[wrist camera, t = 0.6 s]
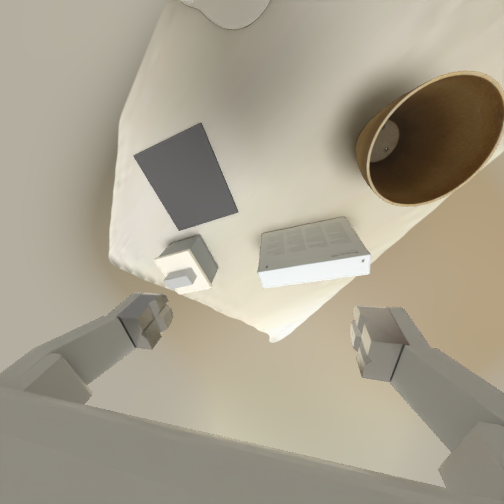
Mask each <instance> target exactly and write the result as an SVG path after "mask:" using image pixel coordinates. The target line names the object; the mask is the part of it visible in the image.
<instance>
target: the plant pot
mask: <svg viewBox="0 0 504 504" xmlns="http://www.w3.org/2000/svg"><path fill="white" fill-rule="evenodd" d="M503 134H504V90H503V89H502V87H501V86H500V84H499V83H498V82H497V81H496V80H495V79H494V78H492V77H490V76H488V75H487V74H484V73H481V72H476V71H458V72H453V73H448V74H445V75H442V76H439V77H437V78H434V79H432V80H430V81H428V82H426V83H424V84H422V85H420V86H419V87H417V88H415V89H413V90H412V91H410V92H408V93H406V94H405V95H403V96H401V97H400V98H398V99H397V100H395V101H394V102H392V103H391V104H389V105H388V106H387V107H385V108H384V109H383V110H381V111H380V112H379V113H378V114H377V115H376V116H374V117H373V118H372V119H371V120H370V121H369V123H368V124H367V125H366V126H365V127H364V129H363V130H362V132H361V133H360V135H359V137H358V140H357V144H356V160H357V164H358V167H359V169H360V172H361V174H362V176H363V178H364V179H365V181H366V182H367V184H368V185H369V186H370V188H371V189H372V190H373V191H374V193H375V194H376V195H377V196H378V197H379V198H381V199H382V200H384V201H385V202H387V203H390V204H393V205H397V206H407V207H408V206H419V205H424V204H427V203H431V202H433V201H436V200H438V199H441V198H443V197H445V196H447V195H449V194H451V193H452V192H454V191H455V190H457V189H459V188H460V187H461V186H463V185H464V184H466V183H467V182H468V181H469V180H470V179H471V178H472V177H474V176H475V175H476V174H477V173H478V172H479V171H480V170H481V169H482V167H483V166H484V165H485V164H486V163H487V162H488V160H489V159H490V158H491V156H492V155H493V153H494V152H495V150H496V148H497V146H498V145H499V143H500V141H501V139H502V136H503ZM386 148H388V150H386Z"/></svg>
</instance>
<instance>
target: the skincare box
mask: <svg viewBox="0 0 504 504" xmlns="http://www.w3.org/2000/svg"><path fill="white" fill-rule="evenodd" d="M370 262H371V254H370V252H368V250H367V249H366V247H365V246H364V244H363V243H362V241H361V240H360V239H359V237H358V235H357V233H356V232H355V231H354V229H353V228H352V227H351V225H350V224H349V222H348V221H347V220H346V218H345V217H340V218H335V219H330V220H326V221H321V222H316V223H311V224H306V225H301V226H297V227H292V228H287V229H282V230H277V231H273V232H268V233H263V234H262V240H261V246H260V258H259V266H258V271H257V273H258V276H259V279H260V282H261V284H262V287H263V289H264V288H272V287H279V286H286V285H294V284H301V283H308V282H316V281H323V280H330V279H338V278H345V277H353V276H360V275H367V274H370Z"/></svg>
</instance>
